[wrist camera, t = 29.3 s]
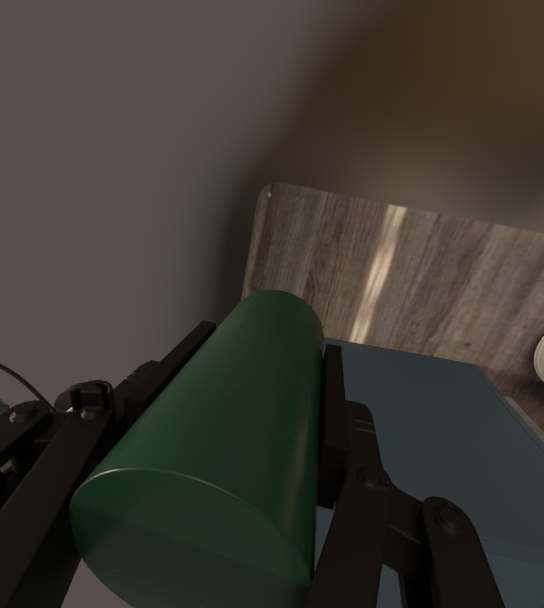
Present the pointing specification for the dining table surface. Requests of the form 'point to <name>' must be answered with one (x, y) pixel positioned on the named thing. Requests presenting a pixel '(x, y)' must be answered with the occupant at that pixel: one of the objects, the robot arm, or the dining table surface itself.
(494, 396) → the cabinet
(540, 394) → the dining table surface
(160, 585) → the tea tin
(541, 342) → the lid
